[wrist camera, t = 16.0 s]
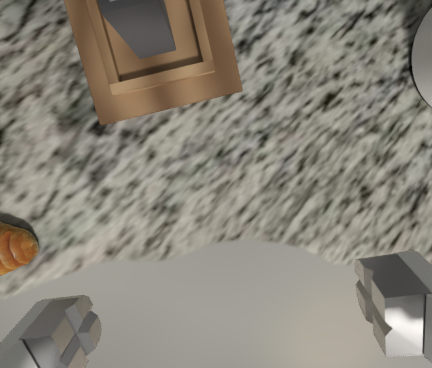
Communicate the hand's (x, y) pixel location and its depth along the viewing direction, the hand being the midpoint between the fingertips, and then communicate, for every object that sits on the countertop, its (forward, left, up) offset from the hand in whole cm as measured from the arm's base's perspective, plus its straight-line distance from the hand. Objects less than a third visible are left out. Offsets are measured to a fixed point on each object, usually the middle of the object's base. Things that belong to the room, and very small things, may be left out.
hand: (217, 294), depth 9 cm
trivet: (+2, -17, -25) cm, 30 cm away
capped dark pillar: (+2, -17, -24) cm, 30 cm away
